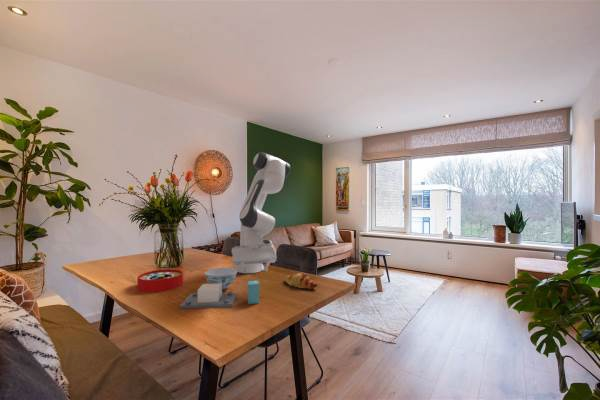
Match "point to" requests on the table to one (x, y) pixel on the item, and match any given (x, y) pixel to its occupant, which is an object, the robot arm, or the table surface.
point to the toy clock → (159, 280)
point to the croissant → (300, 281)
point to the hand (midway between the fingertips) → (255, 271)
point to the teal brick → (253, 292)
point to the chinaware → (221, 276)
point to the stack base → (221, 303)
